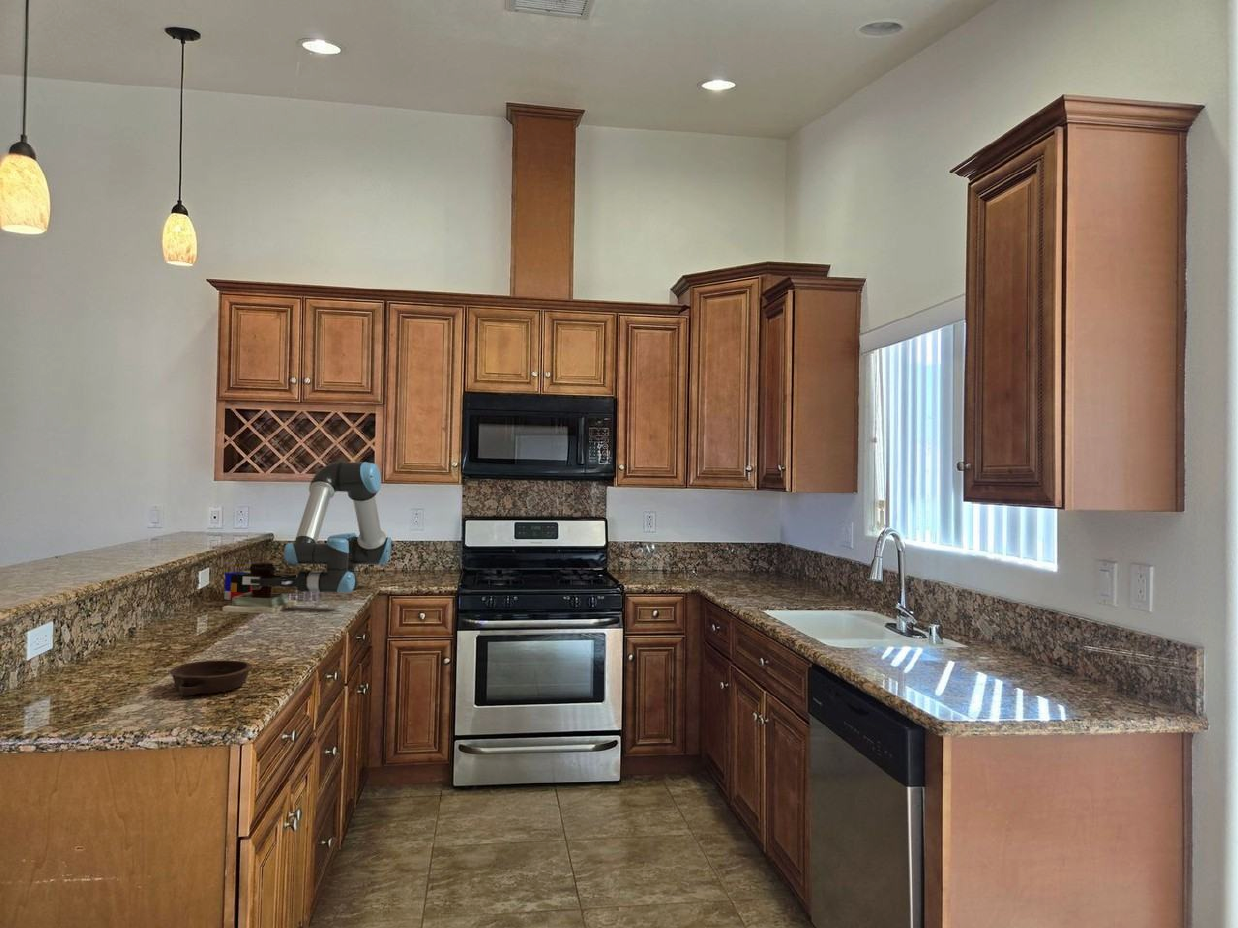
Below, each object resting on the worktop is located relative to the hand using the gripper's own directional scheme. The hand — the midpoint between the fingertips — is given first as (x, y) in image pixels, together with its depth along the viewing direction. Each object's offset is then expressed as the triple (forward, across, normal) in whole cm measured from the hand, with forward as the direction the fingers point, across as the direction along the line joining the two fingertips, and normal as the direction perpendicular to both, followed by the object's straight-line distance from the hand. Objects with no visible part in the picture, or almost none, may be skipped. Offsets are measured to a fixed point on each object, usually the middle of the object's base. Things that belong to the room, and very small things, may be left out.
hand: (248, 579), depth 319 cm
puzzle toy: (+10, +19, -10) cm, 24 cm away
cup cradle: (-5, 0, -10) cm, 11 cm away
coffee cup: (-5, 0, -7) cm, 9 cm away
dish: (-44, -111, -11) cm, 120 cm away
